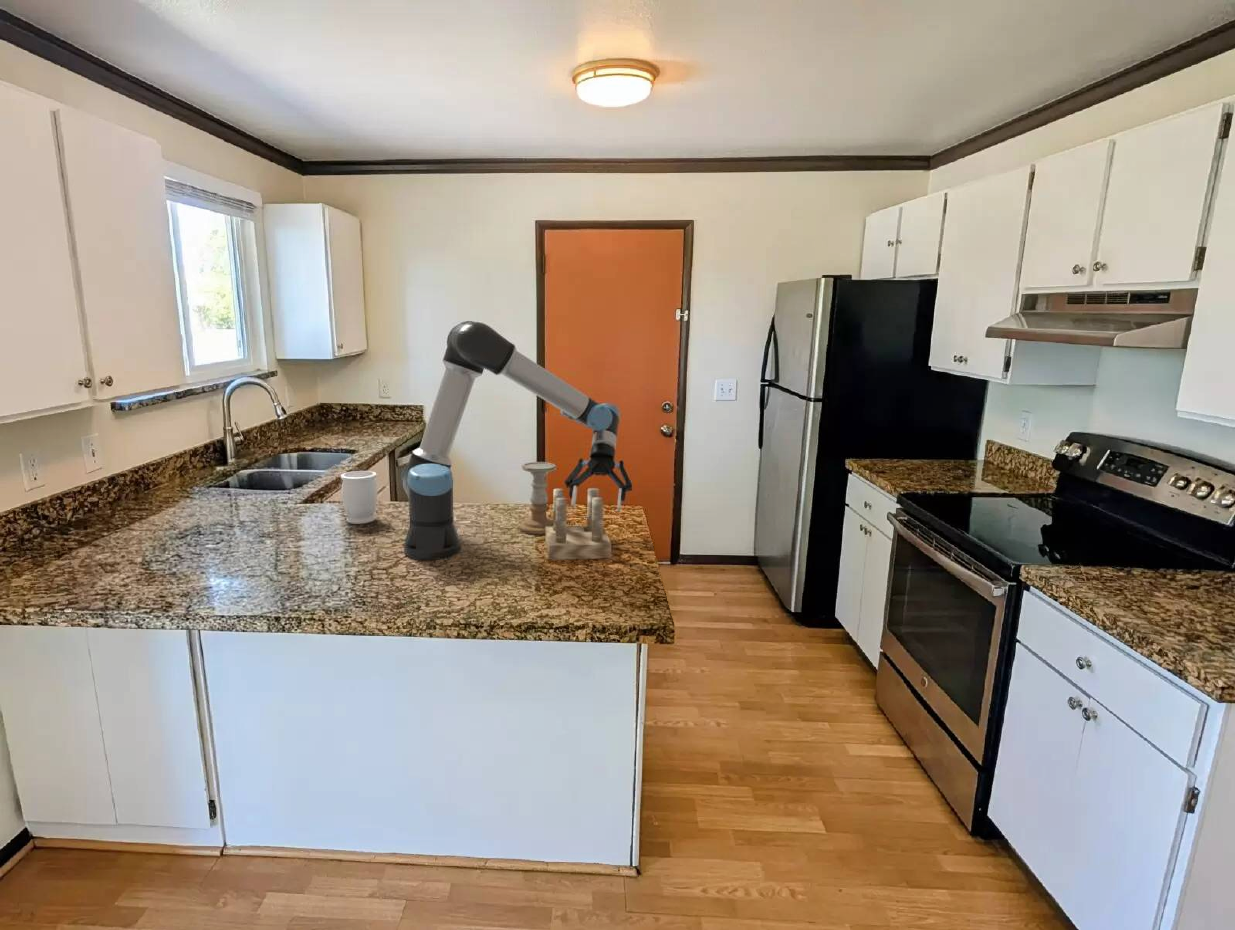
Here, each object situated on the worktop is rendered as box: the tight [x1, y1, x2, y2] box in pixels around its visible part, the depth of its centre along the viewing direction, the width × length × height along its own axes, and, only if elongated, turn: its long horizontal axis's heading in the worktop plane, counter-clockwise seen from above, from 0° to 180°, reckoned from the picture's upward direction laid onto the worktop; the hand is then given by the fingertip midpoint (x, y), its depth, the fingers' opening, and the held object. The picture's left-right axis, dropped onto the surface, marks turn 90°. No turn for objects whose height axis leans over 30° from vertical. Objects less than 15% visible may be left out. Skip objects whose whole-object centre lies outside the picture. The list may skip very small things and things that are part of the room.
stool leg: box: [586, 487, 600, 532], centre depth 193 cm, size 3×3×16 cm
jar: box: [340, 470, 378, 525], centre depth 207 cm, size 11×10×15 cm
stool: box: [544, 488, 612, 561], centre depth 188 cm, size 17×17×16 cm
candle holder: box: [518, 461, 557, 536], centre depth 204 cm, size 12×12×20 cm
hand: (595, 508), depth 195 cm, fingers open, 13 cm apart
